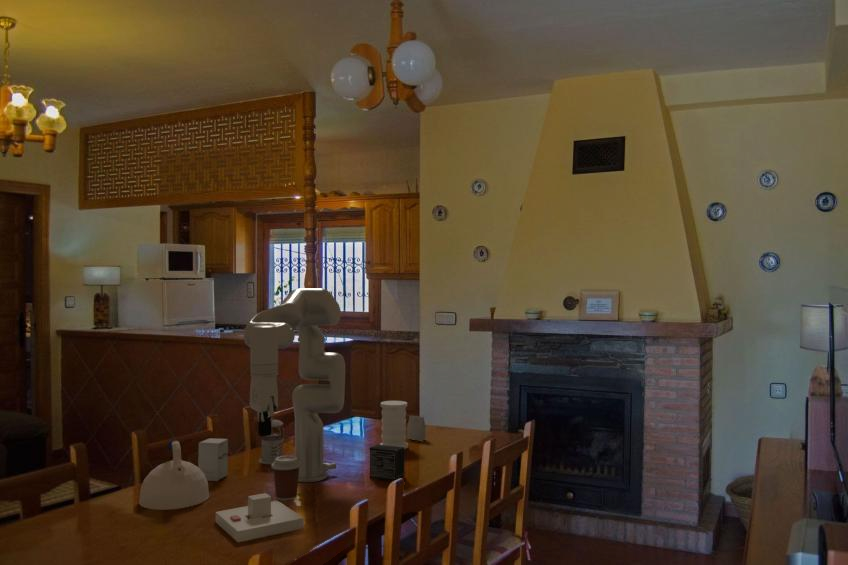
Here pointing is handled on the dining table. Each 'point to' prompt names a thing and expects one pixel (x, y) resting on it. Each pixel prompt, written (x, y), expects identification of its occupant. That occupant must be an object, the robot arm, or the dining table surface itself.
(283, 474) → the coffee cup
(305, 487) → the dining table surface
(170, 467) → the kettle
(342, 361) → the robot arm
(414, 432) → the grey tapered block
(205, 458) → the supplement box
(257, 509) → the plug
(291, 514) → the socket
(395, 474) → the small box
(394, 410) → the decorative container
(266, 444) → the french press
